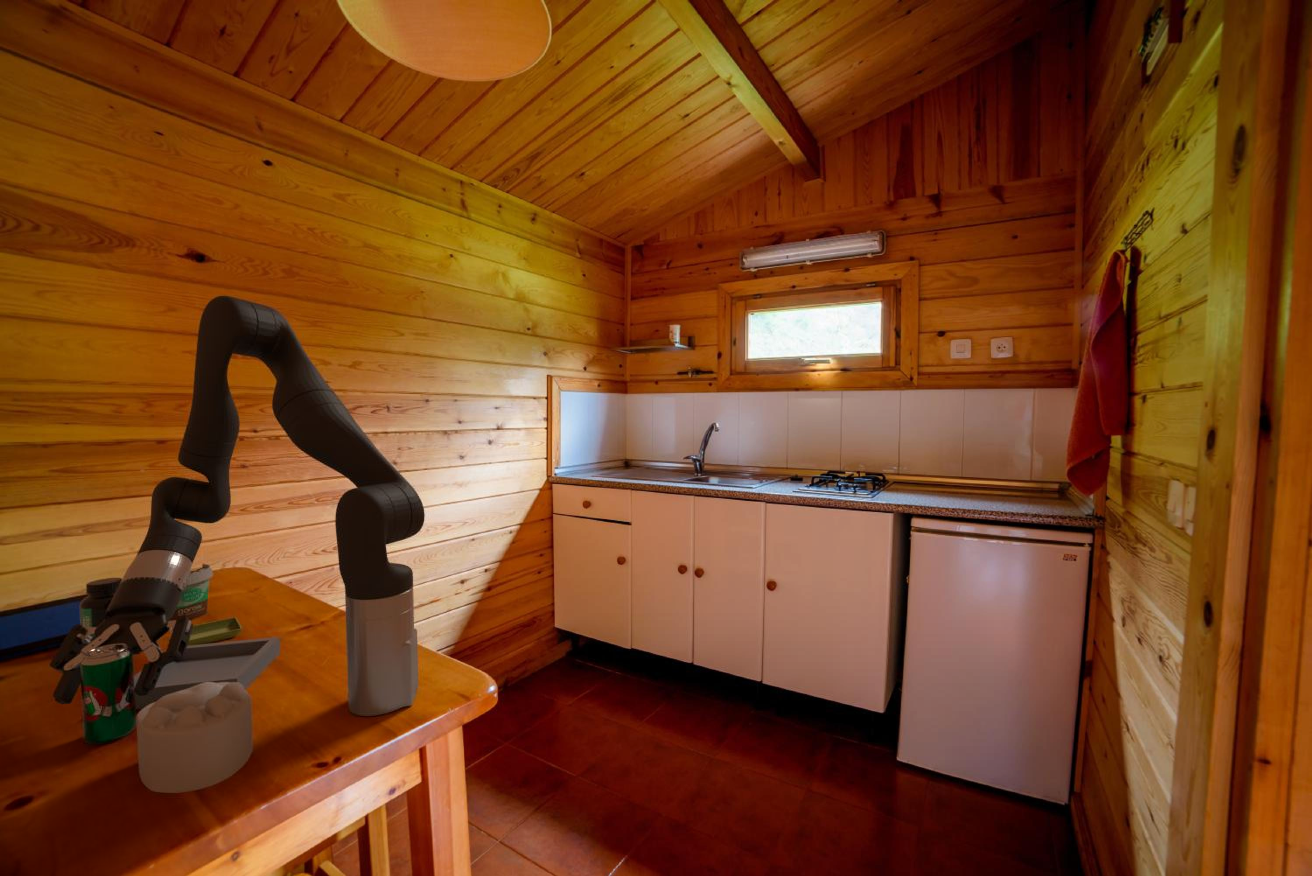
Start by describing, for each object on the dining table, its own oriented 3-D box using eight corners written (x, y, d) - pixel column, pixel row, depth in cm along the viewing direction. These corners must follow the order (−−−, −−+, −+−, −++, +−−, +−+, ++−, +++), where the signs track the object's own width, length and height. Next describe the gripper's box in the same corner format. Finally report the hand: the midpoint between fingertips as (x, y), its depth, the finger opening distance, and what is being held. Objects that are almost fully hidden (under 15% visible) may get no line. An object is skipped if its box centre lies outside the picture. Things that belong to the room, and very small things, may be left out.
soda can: (133, 720, 78) (129, 638, 77) (139, 734, 74) (135, 648, 74) (82, 737, 74) (77, 651, 73) (86, 751, 70) (81, 661, 70)
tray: (280, 652, 99) (279, 636, 99) (237, 697, 84) (237, 678, 84) (176, 663, 95) (175, 646, 95) (111, 712, 80) (110, 692, 80)
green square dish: (236, 626, 113) (236, 616, 113) (243, 638, 107) (242, 628, 107) (181, 638, 107) (180, 628, 107) (184, 652, 101) (184, 641, 100)
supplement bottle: (84, 653, 99) (81, 589, 99) (79, 644, 103) (75, 582, 103) (135, 641, 105) (132, 580, 104) (128, 632, 109) (125, 573, 108)
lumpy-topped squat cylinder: (231, 726, 76) (228, 666, 76) (269, 760, 69) (266, 693, 68) (130, 766, 68) (127, 698, 67) (161, 809, 60) (158, 734, 60)
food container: (170, 629, 110) (167, 581, 109) (146, 627, 111) (144, 579, 111) (229, 608, 122) (227, 564, 122) (206, 606, 123) (205, 563, 123)
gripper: (80, 579, 78) (15, 696, 68) (197, 571, 82) (152, 681, 72) (108, 602, 84) (52, 714, 73) (216, 594, 88) (177, 700, 77)
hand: (101, 698), depth 72 cm, fingers open, 8 cm apart
